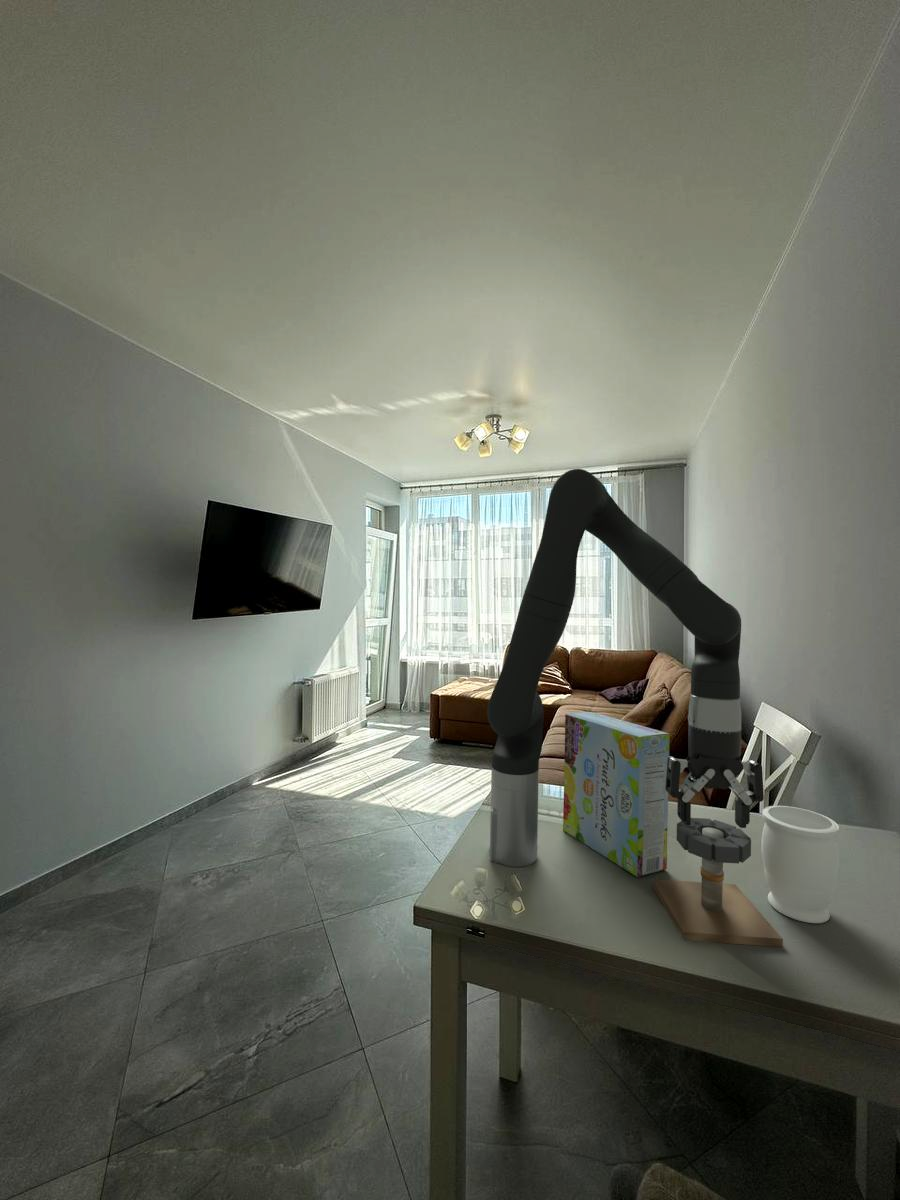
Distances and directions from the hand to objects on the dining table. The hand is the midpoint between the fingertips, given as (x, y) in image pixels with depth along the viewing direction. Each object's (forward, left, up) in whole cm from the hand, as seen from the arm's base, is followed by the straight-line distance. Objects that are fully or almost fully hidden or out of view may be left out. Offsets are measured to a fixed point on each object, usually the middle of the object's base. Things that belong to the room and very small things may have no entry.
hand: (713, 824), depth 80 cm
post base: (0, 0, -14) cm, 14 cm away
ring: (0, 0, -4) cm, 4 cm away
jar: (+15, +3, -15) cm, 21 cm away
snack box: (-11, +20, -15) cm, 27 cm away
